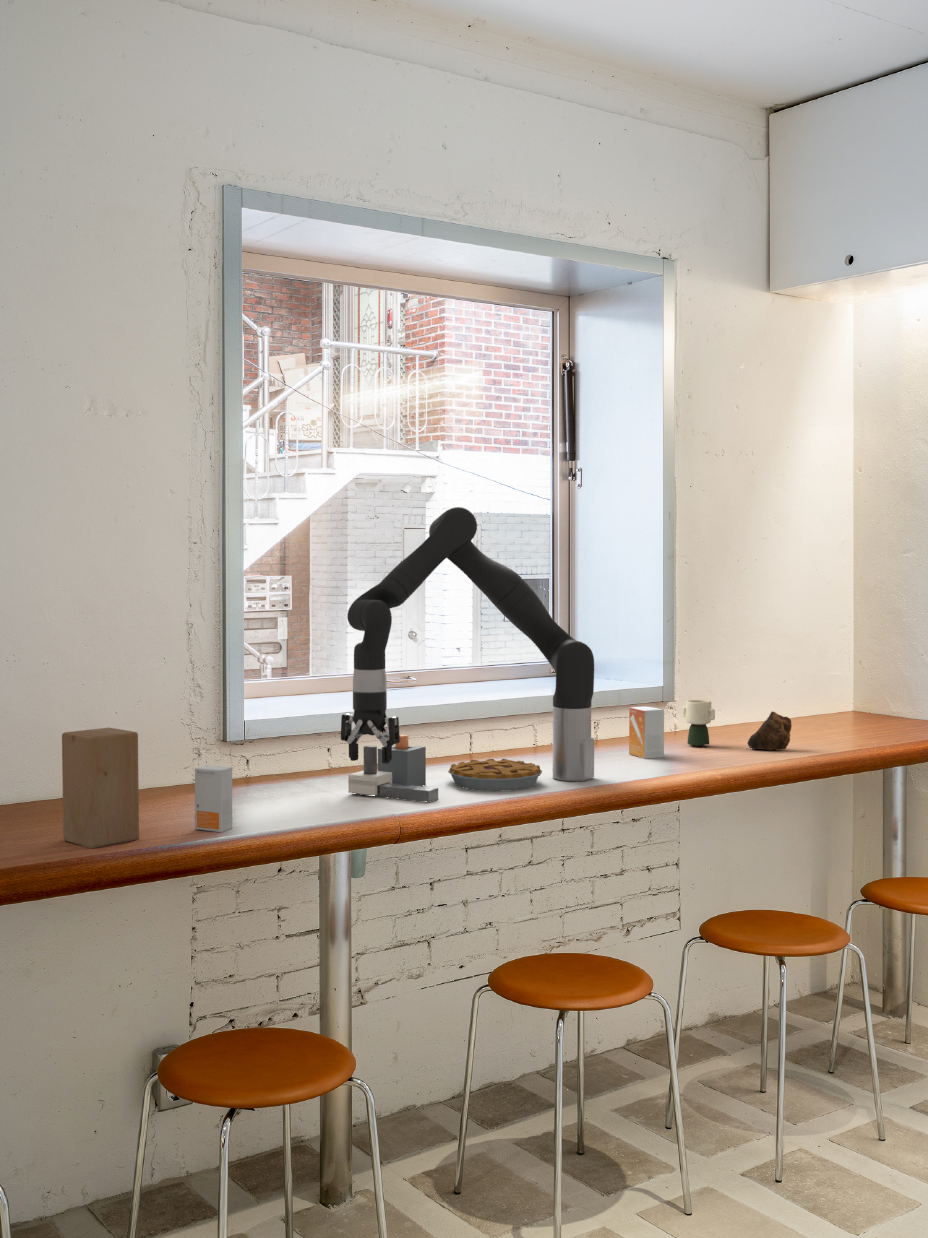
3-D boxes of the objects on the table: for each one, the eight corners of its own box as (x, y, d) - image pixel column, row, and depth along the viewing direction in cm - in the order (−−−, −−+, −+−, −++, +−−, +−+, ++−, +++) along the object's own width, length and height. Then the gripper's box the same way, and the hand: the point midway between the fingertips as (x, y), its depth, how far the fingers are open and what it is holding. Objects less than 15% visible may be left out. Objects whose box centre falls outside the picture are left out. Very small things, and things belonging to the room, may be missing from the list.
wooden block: (90, 849, 201) (89, 737, 200) (62, 840, 208) (60, 732, 207) (140, 839, 208) (139, 731, 208) (111, 831, 215) (109, 727, 214)
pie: (434, 780, 271) (434, 759, 271) (516, 773, 280) (516, 753, 279) (471, 796, 251) (471, 774, 251) (558, 789, 259) (558, 767, 259)
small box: (628, 754, 308) (628, 707, 308) (648, 753, 311) (648, 706, 310) (644, 759, 301) (644, 710, 300) (664, 757, 303) (664, 709, 303)
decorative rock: (790, 749, 319) (790, 711, 318) (793, 752, 313) (793, 713, 312) (746, 748, 320) (747, 710, 320) (748, 751, 314) (749, 712, 314)
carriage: (392, 790, 254) (391, 745, 253) (374, 795, 247) (374, 750, 247) (366, 787, 257) (366, 743, 257) (348, 792, 251) (348, 747, 251)
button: (410, 754, 262) (410, 735, 261) (403, 756, 259) (403, 737, 259) (399, 753, 263) (399, 734, 263) (392, 755, 260) (392, 736, 260)
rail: (438, 799, 246) (438, 788, 246) (428, 802, 243) (428, 791, 242) (362, 791, 256) (361, 780, 256) (351, 794, 252) (351, 782, 252)
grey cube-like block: (425, 785, 263) (425, 746, 262) (407, 791, 256) (407, 751, 255) (396, 782, 267) (396, 744, 266) (377, 787, 260) (377, 748, 259)
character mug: (721, 747, 322) (722, 701, 321) (706, 749, 317) (707, 703, 317) (690, 743, 330) (690, 698, 329) (675, 745, 325) (675, 700, 325)
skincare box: (194, 830, 216) (193, 768, 216) (206, 825, 220) (206, 764, 220) (221, 833, 214) (220, 770, 214) (233, 828, 218) (233, 766, 217)
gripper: (405, 689, 251) (406, 762, 252) (352, 686, 258) (353, 757, 259) (387, 692, 245) (387, 766, 245) (333, 689, 252) (334, 761, 252)
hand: (370, 761), depth 252 cm, fingers open, 8 cm apart
